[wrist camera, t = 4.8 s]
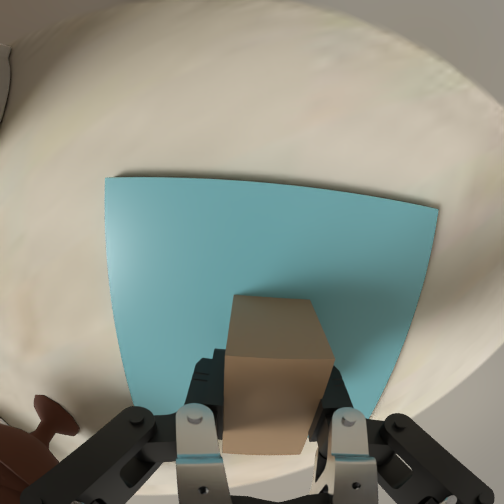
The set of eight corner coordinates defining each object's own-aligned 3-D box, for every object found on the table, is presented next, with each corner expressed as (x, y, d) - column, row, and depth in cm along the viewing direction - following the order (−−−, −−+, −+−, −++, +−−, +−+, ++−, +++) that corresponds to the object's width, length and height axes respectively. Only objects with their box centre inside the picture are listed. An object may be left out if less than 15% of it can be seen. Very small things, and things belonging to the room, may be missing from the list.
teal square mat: (113, 177, 11) (40, 184, 6) (429, 207, 12) (500, 228, 7) (142, 414, 16) (121, 469, 11) (358, 424, 16) (377, 478, 11)
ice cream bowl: (4, 352, 15) (-79, 447, 1) (100, 410, 16) (34, 555, 2) (28, 416, 18) (-23, 498, 3) (109, 461, 19) (73, 564, 4)
